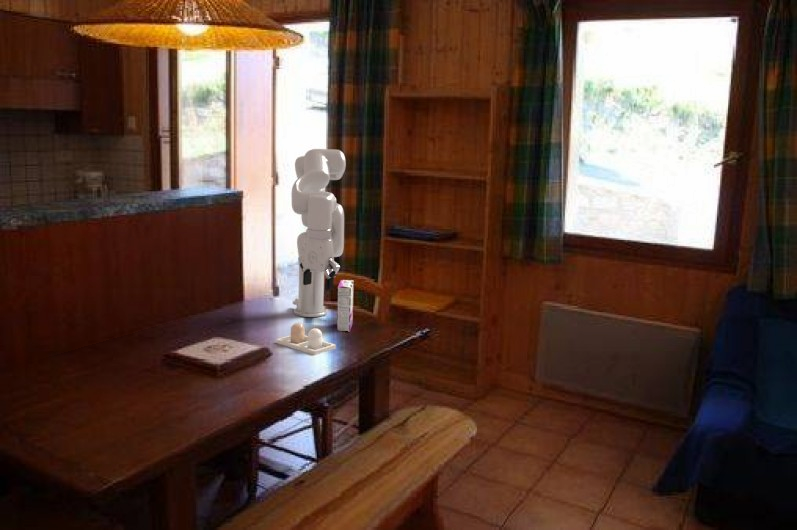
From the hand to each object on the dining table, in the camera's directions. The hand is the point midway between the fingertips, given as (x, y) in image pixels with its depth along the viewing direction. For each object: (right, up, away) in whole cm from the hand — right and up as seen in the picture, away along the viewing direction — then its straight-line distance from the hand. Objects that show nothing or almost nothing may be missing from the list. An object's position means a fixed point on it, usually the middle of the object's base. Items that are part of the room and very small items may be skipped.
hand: (318, 287), depth 229 cm
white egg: (-1, -20, +2) cm, 20 cm away
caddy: (-5, -20, +5) cm, 21 cm away
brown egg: (-8, -19, +7) cm, 22 cm away
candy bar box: (+6, -16, +30) cm, 34 cm away
